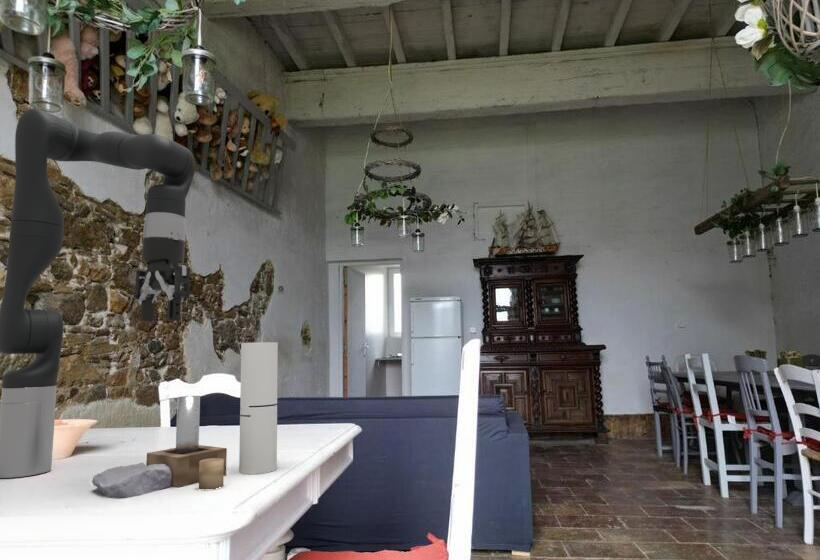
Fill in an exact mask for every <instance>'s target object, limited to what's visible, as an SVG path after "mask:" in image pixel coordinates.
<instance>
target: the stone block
mask: <svg viewBox="0 0 820 560" xmlns="http://www.w3.org/2000/svg"><path fill="white" fill-rule="evenodd" d="M171 479H172V475H171V470H170V467H168V466H166V465H165V464H153V465H148V466H146V464H145V463H144V462H139V463H137V464H130V465H124V466H123V465H121V466H115V467H112V468H108V469H105V470H104V471H102V472H99V473H97V474H96V475H93V477H92V482H91V483H92V484H93V486H95V487H96V488H97V489H98V491H99V492H101V493H103V494H104V495H106V496H108V497H109V498H116V499H117V498H119V499H127V498H133V497H139V496H143V495H147V494H150V493H154V492H156V491H158V492H159V491H162V490H165V489H169V488H171V487H172V486H171Z"/></svg>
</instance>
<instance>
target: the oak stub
mask: <svg viewBox="0 0 820 560" xmlns="http://www.w3.org/2000/svg"><path fill="white" fill-rule="evenodd" d="M224 477H225V476H224V459H223V458H210V459H204V460H201V461H199V482H198V490H200V489H213V490H217V489H216V488H218V489H220V488H219V487H221V488H223V487H224ZM222 486H223V487H222Z"/></svg>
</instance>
